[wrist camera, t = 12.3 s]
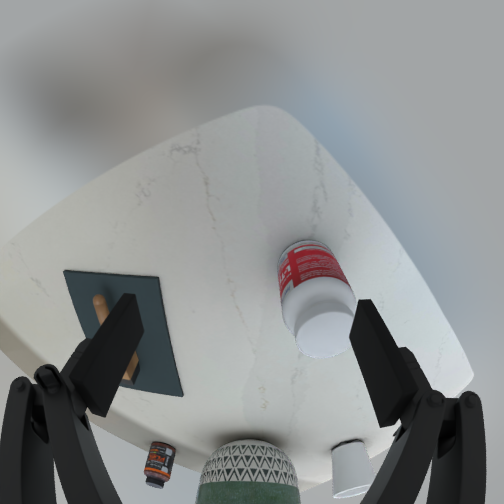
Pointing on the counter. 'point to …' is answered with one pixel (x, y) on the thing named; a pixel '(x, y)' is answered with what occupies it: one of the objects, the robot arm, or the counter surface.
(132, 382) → the scrub brush
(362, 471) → the cup
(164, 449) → the supplement bottle
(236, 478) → the planter
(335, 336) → the pill bottle
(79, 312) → the mat
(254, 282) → the counter surface
